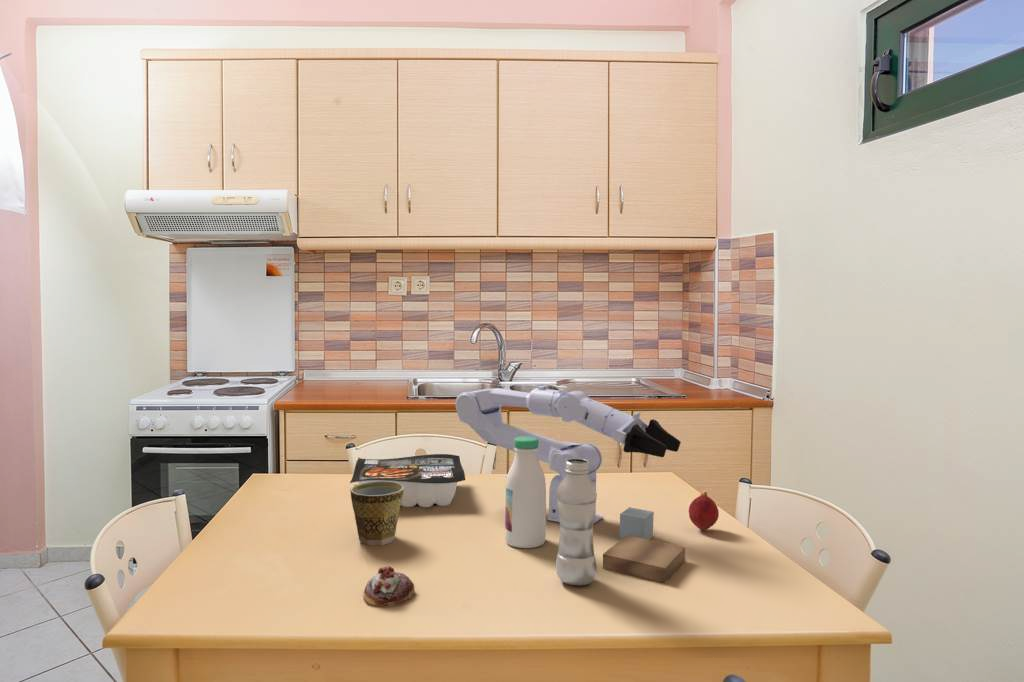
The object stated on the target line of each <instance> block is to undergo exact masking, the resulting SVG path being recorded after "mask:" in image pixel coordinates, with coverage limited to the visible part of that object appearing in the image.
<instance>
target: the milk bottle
mask: <svg viewBox="0 0 1024 682" xmlns="http://www.w3.org/2000/svg"><path fill="white" fill-rule="evenodd" d="M538 445H539V441H538V439H537V438H535V437H517V438H515V440H514V446H515V448H514V450H515V451H514V453H515V454H514V458H513V462H512V464H511V466H510V467H509V468H510V469H509V470H508V473H507V476H506V480H505V481H506V483H505V509H504V511H505V515H504V516H505V521H504V527H505V528H504V534H505V535H504V536H505V537H504V540H505V542H506V543H507V544H508V545H509V546H511V547H514V548H519V549H534V548H538V547H541V546H543V545H544V544H545V542H546V529H547V528H546V527H547V521H546V520H547V503H546V502H547V487H546V486H547V483H546V477H545V473H544V470H543V469H542V465H541V463H540V460H538V456H537V451H538Z"/></svg>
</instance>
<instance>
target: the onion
mask: <svg viewBox="0 0 1024 682" xmlns="http://www.w3.org/2000/svg"><path fill="white" fill-rule="evenodd" d="M719 513H720V512H719V508H718V505H717V504H716V502H715V501H714V500H713V499H712V498H711V497H710V496H708V492H707V491H705V490H703V491H701V493H700V495H698V496H697V497H696V498H694V499H692V501H691V503H690V504H689V506H688V514H689V515H688V516H689V519H690V522H691V523H692V524H693V525H694V526H695V527H696V528H697V529H699V530H700V531H702V532H703V531H706V530H708V529H710V528H712V527H713V526H714V525H715V524H717V522H718V520H719V516H720V515H719Z"/></svg>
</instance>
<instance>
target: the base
mask: <svg viewBox="0 0 1024 682" xmlns="http://www.w3.org/2000/svg"><path fill="white" fill-rule="evenodd" d="M685 561H686V546H681V545H677V544H671V543H667V542H661V541H658V540H653V539H649V540H648V539H643V538H639V537H634V536H629V535H626V536H625V537H624V538H622V539H619V540H618V542H616V543H615V544H613V545H612V546H611V547H610V548H608V549H607V550H606V551H605V552H603V553H602V569H605V570H607V571H612V572H613V571H614V572H616V573H621V574H625V575H630V576H634V577H638V578H641V579H642V578H643V579H647V580H651V581H654V582H659V583H662V582H663V584H665V582H666V583H667V582H668V580H670V578H671V577H672V576H673V575H674V574H675V572H676V571H677V570H678V569H679V568H680V567H681V566H682V565H683V564H684V563H685Z"/></svg>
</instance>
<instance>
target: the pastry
mask: <svg viewBox="0 0 1024 682" xmlns="http://www.w3.org/2000/svg"><path fill="white" fill-rule="evenodd" d="M415 591H416V590H415V584H414V582H413V581H412V579H410V578H409V576H407V575H406V574H404V573H403V572H398V571H395V569H394V567H392V566H389V565H388V566H383V567H379V568H378V572H376V573H375V575H373V576H372V577H371V578H370V579H369V580H368V581H367V583H366V585H365V588H364V590H363V594H362V597H363V600H364V602H366V604H368V605H371V606H372V607H394V606H398V605H402V604H405V603H407V602H409V601H410V600H411V598H413V597H414V595H415Z"/></svg>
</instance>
